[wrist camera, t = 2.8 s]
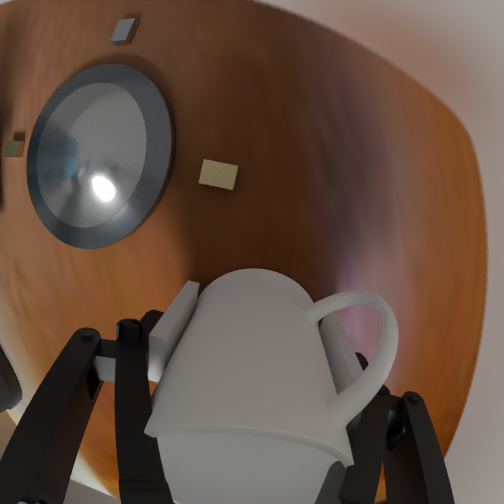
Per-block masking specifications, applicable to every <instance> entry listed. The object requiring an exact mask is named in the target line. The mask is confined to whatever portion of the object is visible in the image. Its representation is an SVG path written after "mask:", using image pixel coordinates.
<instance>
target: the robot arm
mask: <svg viewBox="0 0 504 504" xmlns="http://www.w3.org/2000/svg"><path fill="white" fill-rule="evenodd" d="M199 285H200V283H197V282H193V281H189V280H188V281H187V283H186V284H185V285H184V287H183V288H182V289H181V291H180V292H179V293H178V295H177V296H176V298H175V299H174V300H173V302H172V303H171V304H170V306H169V307H168V309H167V310H166V311H165V313H164V312H160V311H157V310H154V309H153V310H151V311H149V312H147V313H146V314H145V315H144V316H143V318H142V319H141V320H140V321H139V320H136V319H123V320H120V321H119V322H118V323H117V325H116V335H117V340H107V339H101V335H100V333H99V332H98V331H97V330H95V329H93V328H87V327H86V328H81V329H78V330H77V331H76V332H75V333H74V334H73V335H72V337H71V338H70V340H69V341H68V343H67V344H66V346H65V347H64V348H63V350H62V351H61V353H60V354H59V356H58V357H57V359H56V361H55V362H54V364H53V365H52V367H51V368H50V370H49V371H48V373H47V375H46V376H45V378H44V379H43V381H42V383H41V384H40V386H39V388H38V389H37V391H36V393H35V394H34V396H33V398H32V400H31V401H30V403H29V405H28V407H27V408H26V410H25V412H24V414H23V416H22V417H21V419H20V421H19V423H18V425H17V427H16V429H15V431H14V433H13V435H12V437H11V439H10V441H9V443H8V445H7V447H6V450H5V452H4V454H3V456H2V458H1V461H0V504H63V502H64V499H65V494H66V491H67V487H68V484H69V480H70V476H71V473H72V469H73V466H74V463H75V460H76V456H77V453H78V450H79V447H80V444H81V441H82V438H83V435H84V432H85V429H86V426H87V424H88V421H89V418H90V415H91V413H92V410H93V407H94V405H95V402H96V400H97V397H98V395H99V392H100V390H101V387H102V385H103V382H104V381H110V382H115V433H116V448H117V460H118V470H119V492H120V498H121V504H174V502H173V499H172V495H171V491H170V488H169V485H168V482H167V481H166V478H165V474H164V470H163V466H162V461H161V457H160V452H159V447H158V441H157V437H155V438H153V437H151V436H149V435H147V434H145V433H144V430H145V428H146V425H147V423H148V421H149V419H150V416H151V414H152V405H151V397H150V389H149V381H148V380H151V381H154V382H157V383H158V382H159V380H160V378H161V376H162V374H163V372H164V370H165V368H166V366H167V364H168V362H169V360H170V359H171V357H172V355H173V353H174V351H175V349H176V347H177V345H178V343H179V341H180V339H181V338H182V336H183V334H184V332H185V330H186V328H187V326H188V324H189V322H190V320H191V319H192V317H193V314H194V311H195V307H196V303H197V297H198V291H199ZM319 333H320V337H321V340H322V344H323V347H324V350H325V354H326V357H327V361H328V364H329V368H330V371H331V375H332V378H333V382H334V385H335V389H336V393H337V395H338V394H339V393H341V392H343V391H344V390H345V389H347V388H348V387H349V386H350V385H351V384H353V383H354V382H355V381H356V380H357V378H358V377H359V376H360V375H361V374H362V373H363V371H364V370H365V369H366V367H367V366H368V362H367V360H366V358H365V357H364V356H363V355H362V354H361V353H357V352H354V350H353V348H352V345H351V343H350V341H349V339H348V337H347V335H346V332H345V330H344V328H343V326H342V324H341V322H340V320H339V318H338V316H337V314H336V313H330V314H328V315H326V316H324V318H323V321H322V323H321V326H320V329H319ZM21 399H22V393H21V389H20V386H19V383H18V381H17V379H16V377H15V375H14V373H13V371H12V369H11V367H10V365H9V363H8V362H7V360H6V358H5V357H4V355H3V353H2V352H1V350H0V413H1V412H3V411H5V410H7V409H12V408H14V407H15V406H16V405H17V404H18V403H19V402H20V400H21ZM346 430H347V434H348V438H349V443H350V447H351V451H352V456H353V461H354V465H351V466H348V467H347V468H345V467H344V465H343V464H342V463H341V462H340V461H336V462H334V463H333V464H332V465H331V466H330V467H329V470H328V472H327V475H326V478H325V480H324V482H323V485H322V487H321V490H320V492H319V494H318V497H317V499H316V501H315V503H314V504H374V501H375V496H376V492H377V488H378V483H379V478H380V473H381V467H382V462H383V465H384V474H385V485H386V498H387V504H455V503H454V498H453V494H452V489H451V485H450V481H449V478H448V474H447V470H446V466H445V463H444V459H443V456H442V452H441V449H440V446H439V443H438V440H437V436H436V433H435V430H434V428H433V425H432V422H431V419H430V416H429V413H428V411H427V408H426V405H425V403H424V400H423V398H422V397H421V396H420V395H419V394H417V393H415V392H412V391H407V392H405V393H404V395H403V396H402V398H401V397H398V396H394V395H391V394H390V391H389V389H388V388H387V387H386V386H385V385H382V386H381V388H380V389H379V391H378V392H377V394H376V395H375V396H374V397H373V399H372V400H371V401H370V402H369V403H368V404H367V405H366V407H365V408H364V409H363V410H362V411H361V412H360V413H358V414H357V415H356V416H355V417H354V418H353V419H352V420H351V421H350V422H349V423H348V425H347V426H346ZM404 430H405V433H404Z"/></svg>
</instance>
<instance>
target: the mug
mask: <svg viewBox="0 0 504 504" xmlns="http://www.w3.org/2000/svg"><path fill="white" fill-rule="evenodd" d="M355 305H365V306H370V307H373V308H375V309H377V310H378V311H379V312H380V314H381V316H382V320H383V330H382V336H381V340H380V343H379V346H378V348H377V350H376V353H375V355H374V356H373V358H372V360H371V362H370V363H369V365H368V366H367V367H366V369H365V370H364V371H363V373H362V374H361V375H360V376H359V377H358V378H357V380H356V381H355V382H354V383H353V384H351V385H350V386H349V387H348V388H347V389H345V390H344V391H343V392H341V393H339V394H338V395H337V393H336V389H335V385H334V382H333V378H332V375H331V371H330V368H329V364H328V361H327V357H326V354H325V350H324V347H323V344H322V340H321V337H320V333H319V330H318V321H319V320H320V319H321V318H323V317H324V316H326V315H328V314H330V313H332V312H334V311H336V310H339V309H342V308H345V307H349V306H355ZM397 347H398V325H397V321H396V318H395V315H394V313H393V311H392V309H391V308H390V306H389V305H388V304H387V303H386V301H385V300H383V299H382V298H381V297H380V296H378V295H376V294H374V293H372V292H369V291H364V290H350V291H344V292H340V293H337V294H334V295H331V296H328V297H326V298H324V299H321V300H319V301H317V302H315V303H313V301H312V299H311V298H310V296H309V295H308V293H307V292H306V291H305V290H304V289H303V288H302V287H301V286H300V285H299V284H298V283H297V282H295V281H294V280H292V279H291V278H289V277H287V276H285V275H283V274H281V273H278V272H275V271H271V270H266V269H257V268H250V269H241V270H236V271H233V272H230V273H227V274H225V275H223V276H221V277H219V278H217V279H216V280H214V281H213V282H212V283H210V284H209V285H208V286H207V287H206V288H205V289H204V290H203V292H202V293H201V294H200V296H199V298H198V299H197V303H196V307H195V311H194V314H193V317H192V319H191V320H190V322H189V324H188V326H187V328H186V330H185V332H184V334H183V336H182V338H181V339H180V341H179V343H178V345H177V347H176V349H175V351H174V353H173V355H172V357H171V359H170V360H169V362H168V364H167V366H166V368H165V370H164V372H163V374H162V376H161V378H160V380H159V382H158V384H157V386H156V388H155V390H154V392H153V394H152V396H151V405H152V414H151V416H150V419H149V421H148V423H147V425H146V428H145V430H144V433H145V434H147V435H149V436H151V437H153V438H155V437H157V441H158V447H159V452H160V457H161V461H162V466H163V470H164V474H165V478H166V481H167V482H168V485H169V488H170V491H171V495H172V499H173V502H176V503H178V504H314V503H315V501H316V499H317V497H318V494H319V492H320V490H321V487H322V485H323V482H324V480H325V478H326V475H327V472H328V470H329V467H330V466H331V465H332V464H333V463H334V462H336V461H340V462H341V463H342V464H343V465H344V467H345V468H347V467H348V466H351V465H354V461H353V456H352V451H351V447H350V443H349V438H348V434H347V430H346V426H347V425H348V423H349V422H350V421H351V420H352V419H353V418H354V417H355V416H356V415H357V414H358V413H360V412H361V411H362V410H363V409H364V408H365V407H366V405H367V404H368V403H369V402H370V401H371V400H372V399H373V397H374V396H375V395H376V394H377V392H378V391H379V389H380V388H381V386H382V385H383V383H384V382H385V380H386V378H387V376H388V374H389V372H390V370H391V368H392V365H393V362H394V359H395V356H396V352H397Z"/></svg>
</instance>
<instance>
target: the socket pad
mask: <svg viewBox="0 0 504 504" xmlns="http://www.w3.org/2000/svg"><path fill="white" fill-rule="evenodd" d="M139 23H140V22H139V21H138V20H137V19H136V18H130V19H123V20H119V22H118V24H117V26H116V28H115V31H114V33H113V35H112V38H111V40H110V42H111V43H113V44H114V45H123V44H131V41H132V39H133V36H134V34H135V32H136V29H137V27H138V25H139ZM24 142H25V141H7V146H6V153H5V157H22V154H23V148H24ZM175 151H176V133H175V124H174V119H173V114H172V111H171V109H170V106H169V103H168V101H167V99H166V97H165V96H164V94H163V92H162V91H161V90H160V89H159V87H158V86H157V85H156V84H155V83H154V82H153V81H152V80H151V79H150V78H148V77H147V76H146V75H144V74H143V73H141V72H140V71H138V70H136V69H135V68H132V67H129V66H127V65H122V64H101V65H96V66H93V67H90V68H87V69H85V70H83V71H81V72H79V73H77V74H76V75H74V76H73V77H71V78H70V79H68V80H67V81H66V82H65V83H64V84H62V85H61V86H60V87H59V88H58V89H57V90H56V91H55V93H54V94H53V95H52V96H51V98H50V99H49V100H48V102H47V103H46V105H45V106H44V108H43V109H42V111H41V113H40V115H39V117H38V119H37V121H36V124H35V126H34V128H33V132H32V135H31V138H30V142H29V147H28V153H27V169H26V171H27V183H28V189H29V193H30V197H31V201H32V203H33V206H34V208H35V211H36V213H37V215H38V216H39V218H40V220H41V221H42V223H43V224H44V226H45V227H46V228H47V229H48V230H49V231H50V232H51V233H52V234H53V235H54V236H55V237H56V238H58V239H59V240H61V241H62V242H64V243H66V244H68V245H71V246H73V247H77V248H82V249H95V248H101V247H105V246H108V245H111V244H113V243H115V242H117V241H119V240H121V239H123V238H125V237H127V236H129V235H130V234H132V233H133V232H135V231H136V230H137V229H138V228H139V227H140V226H141V225H142V224H144V222H145V221H146V220H147V219H148V218H149V217H150V216H151V214H152V213H153V211H154V210H155V208H156V207H157V205H158V204H159V202H160V200H161V198H162V196H163V194H164V193H165V190H166V188H167V185H168V182H169V180H170V177H171V173H172V169H173V165H174V158H175ZM238 171H239V166H236V165H231V164H227V163H222V162H216V161H211V160H206V159H204V160H203V165H202V169H201V174H200V178H199V183H201V184H206V185H211V186H216V187H221V188H225V189H230V190H234V189H235V184H236V180H237V175H238Z"/></svg>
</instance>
